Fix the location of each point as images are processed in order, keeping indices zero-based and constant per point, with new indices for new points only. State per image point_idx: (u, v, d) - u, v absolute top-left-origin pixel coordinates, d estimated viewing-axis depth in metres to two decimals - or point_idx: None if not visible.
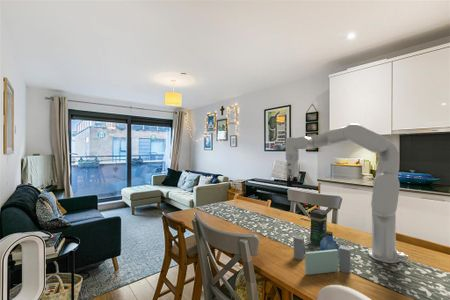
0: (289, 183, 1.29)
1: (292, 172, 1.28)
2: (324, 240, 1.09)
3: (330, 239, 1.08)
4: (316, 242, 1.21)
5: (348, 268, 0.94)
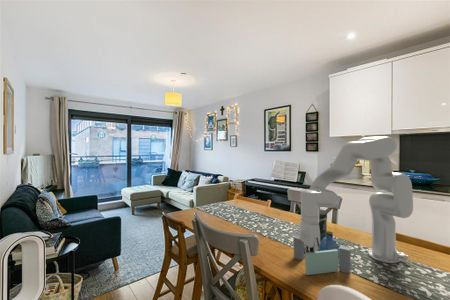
0: None
1: None
2: (324, 240, 1.09)
3: (330, 239, 1.08)
4: None
5: (348, 268, 0.94)
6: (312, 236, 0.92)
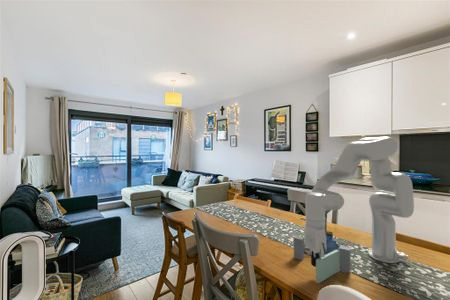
0: None
1: None
2: None
3: (330, 239, 1.08)
4: None
5: (348, 268, 0.94)
6: (318, 241, 0.87)
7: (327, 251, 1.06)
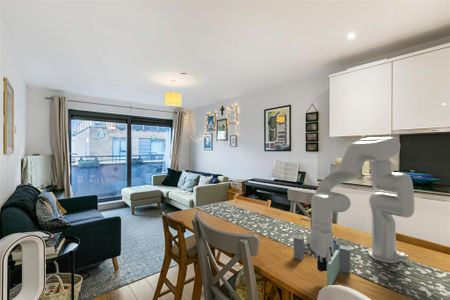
0: None
1: None
2: None
3: None
4: None
5: (348, 268, 0.94)
6: (325, 245, 0.84)
7: None
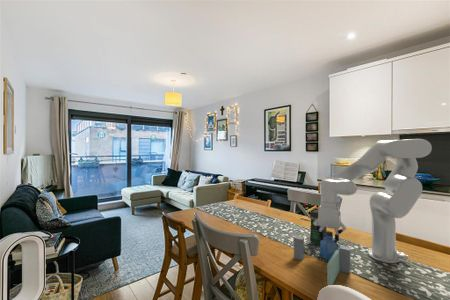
0: (338, 238, 1.07)
1: (341, 222, 1.08)
2: (324, 240, 1.09)
3: (330, 239, 1.08)
4: (316, 242, 1.21)
5: (348, 268, 0.94)
6: None
7: (327, 251, 1.06)
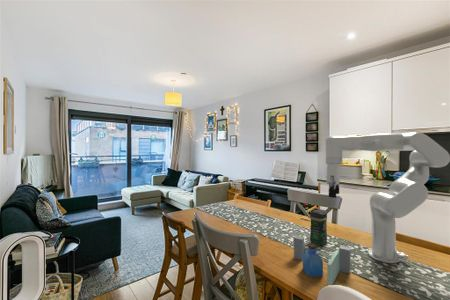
0: None
1: None
2: (314, 256, 0.93)
3: (315, 251, 0.95)
4: (316, 242, 1.21)
5: (348, 268, 0.94)
6: (328, 174, 1.06)
7: None
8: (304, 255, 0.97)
